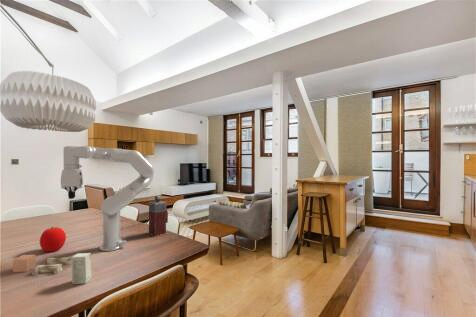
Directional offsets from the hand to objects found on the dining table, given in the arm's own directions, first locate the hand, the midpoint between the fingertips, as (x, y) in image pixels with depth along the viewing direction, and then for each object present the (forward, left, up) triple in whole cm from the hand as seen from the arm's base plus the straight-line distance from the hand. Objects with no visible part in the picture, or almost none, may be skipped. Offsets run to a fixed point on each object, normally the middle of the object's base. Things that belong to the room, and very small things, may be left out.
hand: (71, 198), depth 137 cm
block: (+12, +19, -32) cm, 39 cm away
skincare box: (-22, +35, -32) cm, 52 cm away
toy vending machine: (-44, -29, -32) cm, 62 cm away
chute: (-1, +19, -32) cm, 37 cm away
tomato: (+13, -5, -32) cm, 35 cm away
